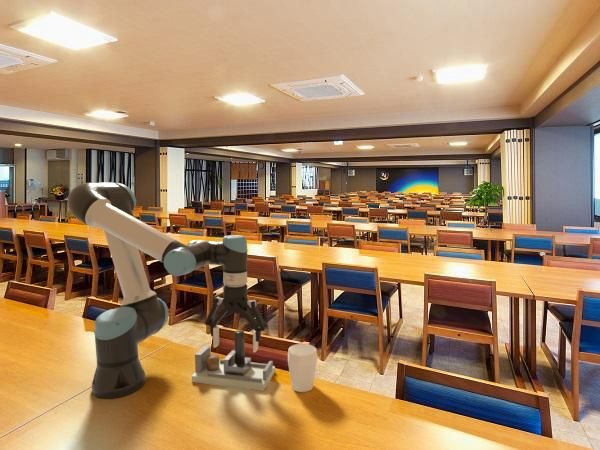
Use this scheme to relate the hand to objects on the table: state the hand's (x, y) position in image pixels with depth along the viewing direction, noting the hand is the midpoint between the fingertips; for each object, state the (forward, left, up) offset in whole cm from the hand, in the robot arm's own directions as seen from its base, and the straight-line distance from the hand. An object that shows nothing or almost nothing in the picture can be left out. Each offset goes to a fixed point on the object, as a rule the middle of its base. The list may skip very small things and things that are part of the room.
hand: (235, 348), depth 122 cm
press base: (-1, 0, -10) cm, 10 cm away
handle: (+1, 0, -8) cm, 7 cm away
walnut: (-8, 0, -8) cm, 11 cm away
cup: (+22, -1, -10) cm, 25 cm away
